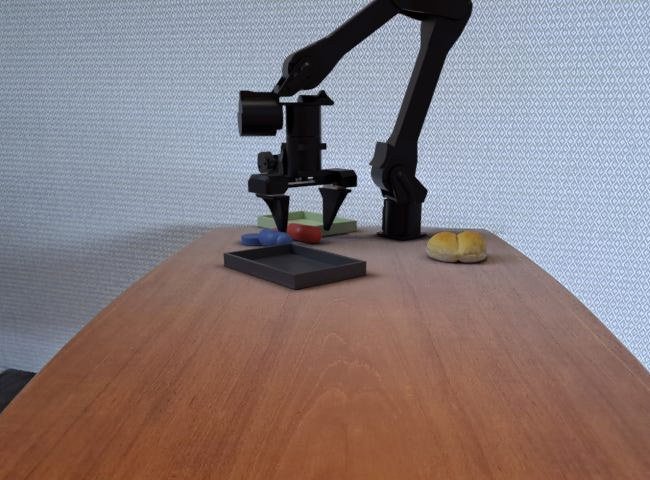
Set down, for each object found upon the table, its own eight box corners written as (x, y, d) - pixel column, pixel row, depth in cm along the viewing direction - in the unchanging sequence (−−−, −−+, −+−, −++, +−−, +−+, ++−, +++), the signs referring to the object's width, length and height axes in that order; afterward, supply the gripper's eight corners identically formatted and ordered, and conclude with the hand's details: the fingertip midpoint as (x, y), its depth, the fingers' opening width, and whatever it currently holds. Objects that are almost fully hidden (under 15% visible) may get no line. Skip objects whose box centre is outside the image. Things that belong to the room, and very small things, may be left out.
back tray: (356, 230, 123) (356, 220, 123) (308, 238, 117) (308, 226, 116) (303, 220, 135) (303, 210, 134) (257, 225, 128) (257, 215, 128)
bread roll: (428, 251, 106) (429, 225, 105) (486, 253, 104) (488, 227, 103) (422, 262, 99) (424, 234, 97) (485, 265, 97) (487, 237, 95)
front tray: (366, 275, 91) (366, 261, 91) (294, 289, 84) (294, 274, 83) (292, 254, 104) (291, 242, 103) (224, 266, 96) (223, 252, 96)
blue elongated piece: (301, 250, 107) (300, 232, 106) (277, 253, 104) (276, 235, 103) (259, 239, 116) (258, 222, 115) (236, 242, 113) (235, 225, 112)
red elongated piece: (329, 242, 113) (329, 225, 112) (309, 246, 110) (309, 229, 109) (280, 233, 121) (280, 217, 120) (261, 237, 117) (260, 220, 116)
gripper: (318, 133, 120) (319, 222, 125) (227, 136, 109) (232, 233, 114) (360, 135, 112) (358, 230, 117) (266, 138, 101) (269, 243, 106)
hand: (305, 233), depth 114 cm, fingers open, 9 cm apart
